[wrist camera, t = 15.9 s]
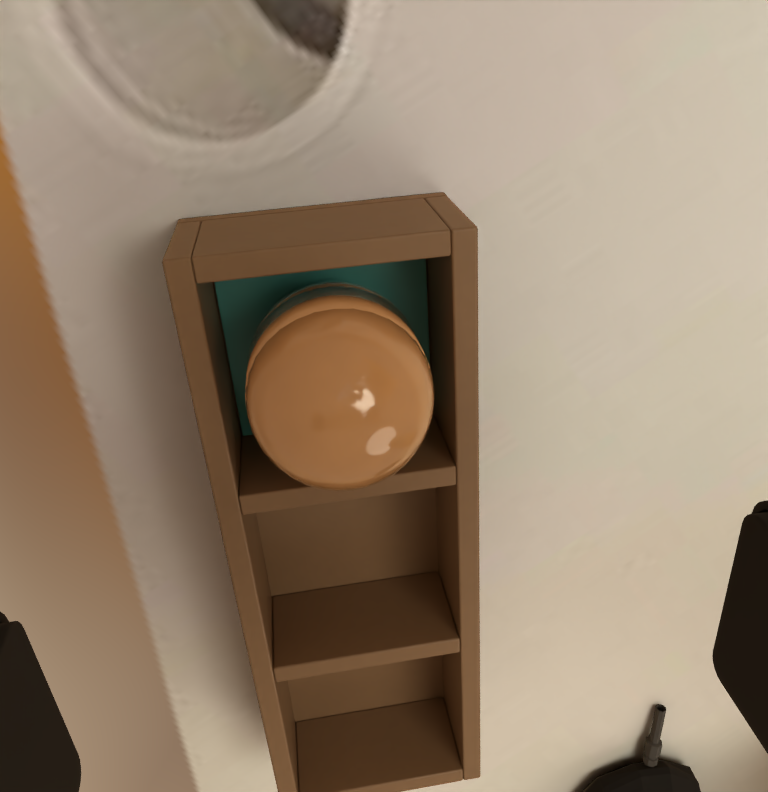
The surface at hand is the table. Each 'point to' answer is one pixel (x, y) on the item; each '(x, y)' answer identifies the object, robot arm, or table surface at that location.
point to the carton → (347, 498)
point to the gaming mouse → (649, 769)
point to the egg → (338, 387)
